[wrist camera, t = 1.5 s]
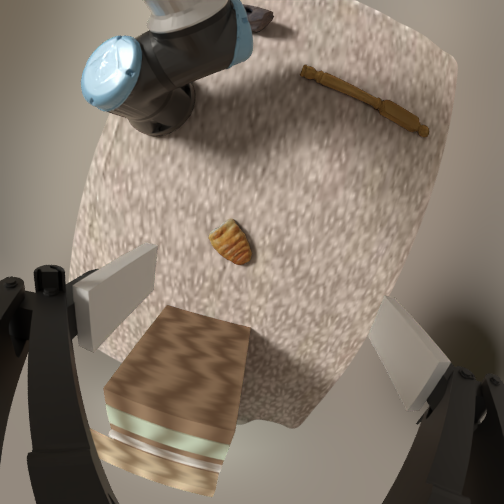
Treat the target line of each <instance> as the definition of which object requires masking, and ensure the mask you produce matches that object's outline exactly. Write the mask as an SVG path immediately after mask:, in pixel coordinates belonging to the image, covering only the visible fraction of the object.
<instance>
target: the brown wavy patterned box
mask: <svg viewBox="0 0 504 504" xmlns="http://www.w3.org/2000/svg"><path fill="white" fill-rule="evenodd" d="M250 330H251V328H250V327H246V326H242V325H238V324H234V323H230V322H226V321H222V320H218V319H214V318H211V317H207V316H203V315H200V314H196V313H192V312H189V311H185V310H182V309H179V308H175V307H172V306H169V305H167V306H166V307H165V308H164V310H163V311H162V312H161V313H160V315H159V316H158V317H157V318H156V320H155V321H154V322H153V324H152V325H151V326H150V327H149V329H148V330H147V331H146V333H145V334H144V335H143V336H142V338H141V339H140V340H139V342H138V343H137V344H136V345H135V347H134V348H133V349H132V351H131V352H130V353H129V355H128V356H127V357H126V359H125V360H124V361H123V363H122V364H121V365H120V367H119V368H118V369H117V371H116V372H115V373H114V375H113V376H112V377H111V379H110V380H109V381H108V383H107V384H106V385H105V387H104V395H105V401H106V409H107V414H108V419H109V423H110V425H111V431H110V432H109V436H110V437H112V438H114V440H116V441H118V442H120V443H122V444H125V445H127V446H130V447H132V448H134V449H137V450H140V451H142V452H145V453H147V454H150V455H153V456H156V457H159V458H162V459H165V460H168V461H171V462H174V463H178V464H181V465H185V466H188V467H192V468H196V469H200V470H204V471H208V472H212V473H217V474H219V472H221V468H222V464H223V461H224V459H225V457H226V454H227V452H228V449H229V447H230V444H231V441H232V438H233V436H234V433H235V429H236V422H237V416H238V410H239V403H240V397H241V390H242V384H243V377H244V370H245V364H246V357H247V350H248V344H249V337H250Z"/></svg>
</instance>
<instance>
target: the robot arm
mask: <svg viewBox="0 0 504 504" xmlns="http://www.w3.org/2000/svg"><path fill="white" fill-rule="evenodd" d="M143 1H144V3H145V4H146V6H147V7H148V9H149V10H150V11H151V15H150V17H149V19H148V21H147V27H148V29H149V31H147V32H145V33H144V34H142V35H140V36H138V37H136V38H133V37H131V36H115V37H112V38H110V39H108V40H107V41H105V42H104V43H102V44H101V45H100V46H99V47H98V48H97V49H96V50H95V51H94V52H93V53H92V55H91V56H90V58H89V59H88V61H87V63H86V67H85V68H84V70H83V74H82V80H81V88H82V93H83V96H84V98H85V99H86V100H87V102H88V103H89V104H91V105H93V106H95V107H97V108H98V109H100V110H102V111H106V112H109V113H112V114H116V115H119V116H122V117H125V118H127V119H128V120H129V122H130V123H131V125H132V126H133V127H134V128H135V129H136V130H138V131H140V132H142V133H144V134H147V135H152V136H161V135H165V134H168V133H171V132H173V131H174V130H176V129H178V128H179V127H180V126H181V125H182V124H183V123H184V122H185V121H186V120H187V119H188V117H189V116H190V114H191V112H192V110H193V107H194V103H195V91H194V88H193V85H192V84H191V82H193V81H196V80H198V79H201V78H203V77H206V76H208V75H211V74H213V73H216V72H219V71H221V70H224V69H229V68H231V67H232V66H233V65H236V64H238V63H241V62H244V61H246V60H247V59H248V58H249V57H250V56H251V54H252V51H253V37H252V31H251V26H250V23H249V22H248V17H247V13H246V10H245V8H244V6H243V4H242V3H241V1H240V0H143ZM157 249H158V245H155V244H151V243H144V244H142V245H140V246H138V247H137V248H135V249H133V250H131V251H129V252H128V253H126V254H124V255H122V256H121V257H119V258H117V259H115V260H114V261H112V262H110V263H109V264H107V265H105V266H103V267H102V268H100V269H95V270H91V271H88V272H86V273H84V274H83V275H82V276H79V277H78V278H77V279H74V280H73V281H71V282H69V283H68V284H65V271H64V269H63V268H62V267H60V266H57V265H44V266H40V267H38V268H37V269H35V270H34V281H35V290H36V293H34V292H29V291H25V286H24V281H23V280H22V279H20V278H17V277H6V278H5V279H3V280H1V281H0V462H1V454H2V447H3V441H4V435H5V430H6V426H7V421H8V416H9V412H10V408H11V404H12V401H13V397H14V393H15V390H16V387H17V383H18V380H19V377H20V374H21V371H22V368H23V365H24V362H25V360H26V357H27V354H28V406H29V421H30V431H31V439H32V448H33V450H32V452H30V453H28V455H27V465H28V471H29V475H30V480H31V485H32V489H33V493H34V496H35V500H36V504H119V503H118V501H117V499H116V497H115V495H114V493H113V491H112V489H111V486H110V484H109V482H108V479H107V477H106V474H105V472H104V469H103V467H102V464H101V461H100V459H99V456H98V453H97V450H96V447H95V444H94V441H93V438H92V434H91V431H90V427H89V424H88V420H87V417H86V413H85V409H84V405H83V400H82V396H81V391H80V387H79V381H78V376H77V370H76V364H75V357H74V350H73V343H72V339H73V338H74V337H75V336H76V335H77V336H78V342H79V346H80V347H82V348H85V349H86V350H89V351H91V352H93V353H94V352H95V351H96V350H97V349H98V348H99V347H100V345H101V344H102V343H103V342H104V341H105V340H106V339H107V338H108V337H109V336H110V335H111V334H112V333H113V332H114V330H115V329H116V328H117V327H118V326H119V325H120V324H121V323H122V322H123V321H124V320H125V319H126V318H127V317H128V316H129V315H130V314H131V313H132V312H133V311H134V310H135V309H136V308H137V307H138V305H139V304H140V303H141V302H142V301H143V300H144V299H145V298H146V297H147V296H148V295H149V294H150V293H151V292H152V291H153V290H154V280H155V269H156V259H157ZM368 337H369V339H370V341H371V343H372V344H373V346H374V348H375V350H376V352H377V354H378V356H379V358H380V359H381V361H382V363H383V365H384V367H385V369H386V371H387V373H388V375H389V377H390V379H391V381H392V382H393V385H394V386H395V388H396V391H397V393H398V395H399V397H400V399H401V401H402V403H403V405H404V407H405V409H406V411H419V410H420V409H421V408H422V406H423V405H424V403H425V402H426V401H427V402H428V404H429V408H428V409H427V410H426V411H425V413H424V414H423V415H422V417H421V418H420V419H419V420H418V422H417V423H416V424H419V423H420V422H421V424H420V427H419V429H418V432H417V435H416V437H415V439H414V442H413V444H412V447H411V449H410V451H409V453H408V456H407V458H406V460H405V462H404V464H403V466H402V468H401V470H400V472H399V474H398V476H397V478H396V480H395V482H394V484H393V486H392V487H391V489H390V491H389V493H388V494H387V496H386V498H385V499H384V501H383V503H382V504H504V384H503V382H502V381H501V380H500V378H499V377H498V376H497V375H493V374H486V376H485V377H484V379H483V381H482V382H479V381H476V379H475V376H474V374H473V373H472V372H471V371H470V370H468V369H466V368H464V367H459V366H457V367H454V366H453V365H452V363H451V362H450V360H449V359H448V358H447V357H446V355H445V354H444V353H443V352H442V351H441V349H440V348H439V347H438V346H437V345H436V344H435V342H434V341H433V340H432V339H431V338H430V336H429V335H428V334H427V333H426V332H425V331H424V330H423V328H422V327H421V326H420V325H419V324H418V323H417V322H416V320H415V319H413V317H412V316H411V315H410V314H409V313H408V312H407V310H405V308H404V307H403V306H402V305H401V304H400V303H399V302H398V301H397V300H396V299H395V298H394V297H389V296H384V297H383V300H382V302H381V305H380V307H379V310H378V312H377V315H376V317H375V320H374V322H373V324H372V327H371V329H370V331H369V333H368ZM28 352H29V353H28ZM486 412H487V414H486V417H485V419H484V420H483V421H482V423H480V419H481V418H482V417H483V416H484V414H485V413H486Z"/></svg>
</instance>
